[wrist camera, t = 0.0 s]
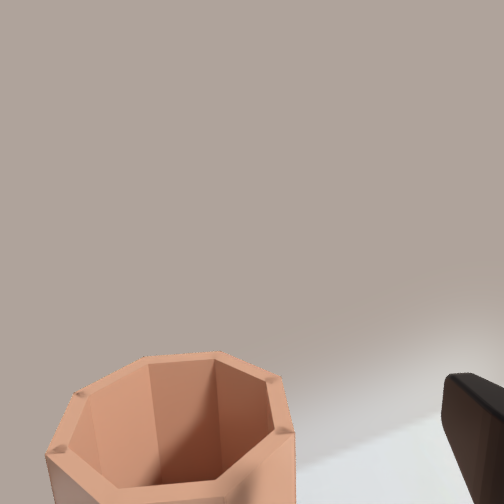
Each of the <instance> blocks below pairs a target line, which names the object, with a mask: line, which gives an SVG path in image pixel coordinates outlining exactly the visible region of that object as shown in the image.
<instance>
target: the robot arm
mask: <svg viewBox="0 0 504 504" xmlns="http://www.w3.org/2000/svg"><path fill="white" fill-rule="evenodd" d="M441 420H442V425H443V429H444V431H445V434H446V436H447V439H448V441H449V444H450V446H451V449H452V451H453V453H454V456H455V458H456V461H457V463H458V466H459V468H460V471H461V473H462V476H463V478H464V480H465V483H466V485H467V488H468V490H469V493H470V495H471V498H472V500H473V502H474V504H504V388H503V387H501V386H499V385H497V384H494V383H492V382H490V381H488V380H486V379H484V378H481V377H479V376H477V375H475V374H472V373H457V374H456V373H455V374H449V375H448V376H447V377H446V379H445V382H444V390H443V401H442V410H441Z"/></svg>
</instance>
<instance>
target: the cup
mask: <svg viewBox="0 0 504 504" xmlns="http://www.w3.org/2000/svg"><path fill="white" fill-rule="evenodd" d="M45 458H46V463H47V467H48V472H49V476H50V481H51V486H52V491H53V496H54V500H55V504H296V461H295V460H296V459H295V458H296V453H295V432H294V428H293V424H292V420H291V416H290V412H289V408H288V404H287V400H286V395H285V391H284V387H283V383H282V378H281V376H278V375H275V374H273V373H271V372H269V371H266V370H264V369H261V368H259V367H257V366H255V365H252V364H250V363H247V362H245V361H243V360H240V359H238V358H236V357H233V356H231V355H228V354H226V353H224V352H222V351H215V352H201V353H188V354H174V355H161V356H147V357H142V358H140V359H139V360H136V361H135V362H133V363H131V364H129V365H127V366H125V367H123V368H121V369H119V370H117V371H115V372H113V373H111V374H109V375H107V376H105V377H104V378H102V379H100V380H98V381H96V382H94V383H92V384H90V385H88V386H86V387H84V388H82V389H80V390H78V391H76V392H74V393H73V396H72V398H71V400H70V402H69V404H68V406H67V408H66V411H65V413H64V415H63V417H62V419H61V421H60V423H59V426H58V428H57V430H56V432H55V434H54V436H53V438H52V441H51V443H50V445H49V447H48V449H47V451H46V453H45Z"/></svg>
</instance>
